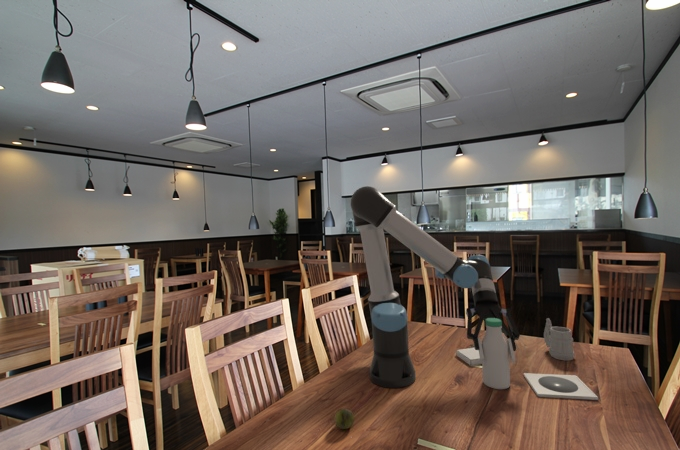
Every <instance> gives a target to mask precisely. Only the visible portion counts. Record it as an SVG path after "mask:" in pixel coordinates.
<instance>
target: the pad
mask: <svg viewBox="0 0 680 450" xmlns="http://www.w3.org/2000/svg"><path fill="white" fill-rule="evenodd" d="M523 376H524V377H523V378H525V380H526V381H527V383H528V384H529V386H530V387H531V390H533V392H534V393H535V395H536V396H537V397H539V398H554V399H574V400H593V401H598V400H599V397H598V396H597V394H595V392H594V391H592V389H590V388H589V387H588V386H587V385H586V384H585V382H583V381H582V380H581V379H580V378H579V376H577V375H573V374H553V373H533V372H532V373H527V372H524V373H523Z"/></svg>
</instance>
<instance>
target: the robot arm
mask: <svg viewBox="0 0 680 450" xmlns="http://www.w3.org/2000/svg"><path fill="white" fill-rule="evenodd" d="M350 207H351V211H352V216H353V222H354V227H355V228H356V230H358V231H359V232H360V238H361V243H362V250H363V255H364V261H365V266H366V272H367V277H368V284H369V288H370V295H369V296H368V298H367V301H368V306H369V311H370V313H369V314H370V319H371V327H372V330H371V331H372V345H373V346H372V347H373V356H372V360H371V364H370V366H369V367H370V368H369V380H370V379H371V380H370V381H371V382H372V383H373V384H375V385H377V386H379V387H382V388H388V389H399V388H404V387H408V386H410V385H412V384H413V383H414V382H415V381H416V378H417V377H416V370H415V366H414V364H413V361H412V358H411V356H410V350H409V345H410V344H409V333H408V332H409V331H408V317H409V316H408V314H407V313H408V312H407V309H406V308H405V307H404V306H403V305H402V304H401V299H400V294H399V293H398V292H397V291H396V290H395V288H394V283H393V282H394V281H393V277H392V272H391V266H390V265H391V264H390V261H389V254H388V248H387V243H386V237H385V232H387V233H388V234H389V235H391V236H392V237H394V238H395V239H396V240H397V241H399V242H400V243H402V245H404V246H405V247H407V248H408V249H409V250H411V251H412V252H413V253H414V254H416V255H417V256H418V257H420V258H421V259H423V260H424V261H425V262H426V263H427V264H429V265H430V266H432V267H433V268H434V274H435V277H436V278H438V279H443V280H445V279H446V280H449V281H451V282H452V283H453V284H455V285H456V286H457V287H459V288H461V289H470V288H471V291H472V298H473V305H474V307H473V308H470V307H467V308H465V309H466V311H465V314H466V317H467V323H466V325H467V327H466V339H469V340H472V341H473V346H474V347H475V350H479V356H480V362H483V361H484V355H483V349H482V339H481V337H479V334H480V332H481V330H482V329H481V328H482V326H483V322H485V320H486V319H487V318H497V319H500V320H501V321H502V328H501V331H502V334H503V336H505V337H506V338H507V339H506V342H507V345H508V351H509V361H510V363H511V364H514V363H515V362H516V355H515V352H516V350H517V346H516V341H518V340H519V339H520V337H521V334H520V331H519V330H518V328H517V325H516V323H515V320H514V319H513V316H512V314H511V313H512V311H511V308H509V307H507V308H506V309H505V308H502V307H501V306H500V304H499V300H498V296H497V292H496V287H495V282H494V279H493V275H492V274H493V273H492V268H491V265H490V262H489V259H488V258H487V257H486V256H485V255H482V254H476V255H471V256H469V257H468V258H467V260H466V259H465V260H464V259H461V258H460V257H458V255H456V254H455V253H454V252H452V251H451V250H450V249H448V248H447V247H445V246H444V245H443V244H442V243H441V242H440V241H438V240H437V239H435V238H434V237H433V236H431V235H430V234H429V233H427V232H426V231H425V230H424V229H422V228H420V226H419V225H417V224H416V223H414V222H413V221H411V220H410V219H409V218H408V217H407V216H405V215H403V214H402V213H401V212H399V211H398V210H397V207H396V205H395V204H394V203H393V202H391V201H390V200H389V199H388V198H387V197H386V196H385V195H384V194H383V193H382V192H381V191H380V190H379V189H377V188H375V187H373V186H368V185H367V186H362V187H359V188H358V189H356V190H355V191H354V192H353V193H352V196H351V198H350ZM384 231H385V232H384ZM474 314H475V315H477V317H478V321H477V324H476V327H475V330H474V333H472V331H473V330H472V329H473V328H472V324H473V316H474ZM500 314H502V315H503V316H504V317H505V320H506V323H507V324H508V326H507V325H506V323H505V322H504V320H502V317H501V315H500Z"/></svg>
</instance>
